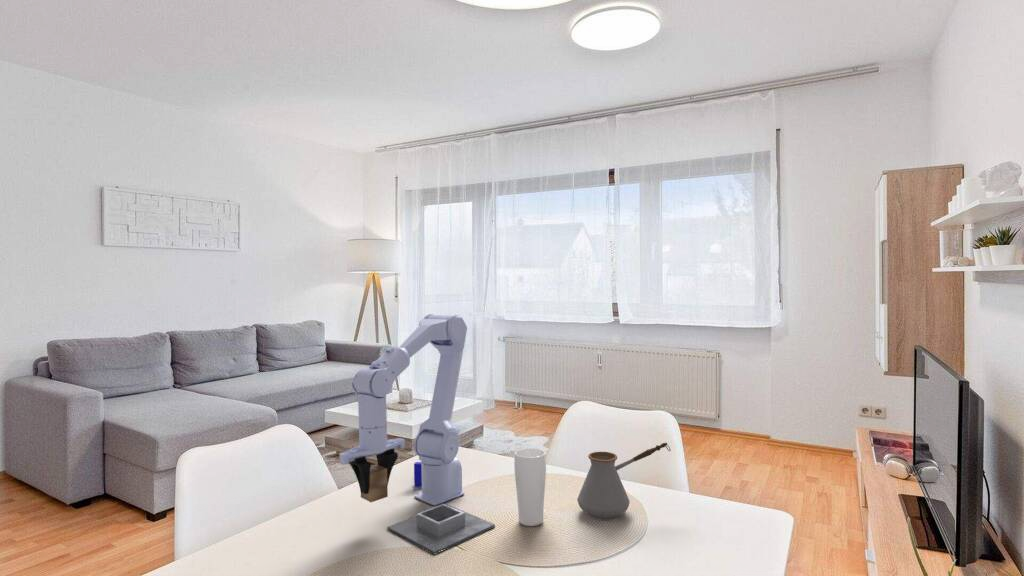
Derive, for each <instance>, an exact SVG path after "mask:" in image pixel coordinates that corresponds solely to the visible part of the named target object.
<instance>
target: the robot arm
mask: <svg viewBox="0 0 1024 576" xmlns="http://www.w3.org/2000/svg"><path fill="white" fill-rule="evenodd" d="M467 332H468V327H467V323H466V322H465V320H464V318H463V317H462V316H461V315H460V314H454V315H451V314H450V315H449V314H433V313H430V314H426V315H425V316H424V317H423V318H422V319H421V320H419V321H418V327H417V328H416V329H415V330H413V332H412V333H411V334H410V335H409V336H408V337H407V338H406V339H405V340H404V342H403V343H401V345H399V346H395V345H394V346H391V347H389V346H388V347H387V348H386V349H384V351H385V352H384V353H383V354H382V355H381V356H380V357H379V358H377V359H376V360H373V361H372V362H371V364H370V365H369V366H368V367H364V368H361V369H359V370H358V371H357V372H356V373H355V375H354V377H353V380H352V382H351V383H350V384H351V389H352V391H353V393H355V396H356V398H355V399H356V401H357V404H358V405H357V407H358V408H357V409H358V446H356V447H353V448H350V449H349V450H346V451H344V452H339V463H340V464H342V465H348V464H349V465H350V467H351V468H352V471H353V473H354V475H355V477H356V480H357V483H358V486H359V489H360V493H361V492H362V493H364V494H368V492H369V473H370V467H371V466H372V463H371V462H369V461H368V459H366V458H369V457H373V456H375V457H376V460H377V465H380V466H382V467H384V468H387V487H388V485H389V481H390V477H391V473H392V470H393V468H394V465H395V463H396V461H397V460H398V458H399V455H398V454H399V453H398V452H396V450H399V449H400V450H402V449H405V448H406V446H405V445H406V440H405V439H404V438H401V437H397V438H392V439H388V428H387V427H388V426H387V395H389V393H390V392H391V391H392V387H393V384H394V383H395V380H396V379H397V378H398V377H399V376H400V375H401V374H402V373H404V371H405V370H406V369H407V368H408V367H409V366H410V364H411V358H412V357H413V356H414V355H416V354H417V353H418V352H419V351H420V350H421V349H423V348H424V347H426V346H427V345H428V344H429V343H430V344H431V346H433V348H435V349H436V350H437V351H438V353H439V354H440V355H439V361H438V366H437V367H438V368H437V373H436V379H435V384H434V389H433V396H432V398H431V399H432V400H431V406H430V411H429V415H428V416H429V417H428V418H427V419H426V420H424V421H423V422H422V423H421V424H420V425H419V429H418V431H417V435H416V436H415V438H414V443H413V450H414V452H415V454H416V455H417V456H418V461H419V462H421V467H422V487H421V492H419V493H416V494H414V498H415V499H418V500H420V501H422V502H425V503H427V504H428V505H431V506H438V505H441V504H444V503H446V502H448V501H450V500H453V499H456V498H458V497H461V496H463V495H465V491H463V468H462V465H461V464H462V463H461V461H460V460H459V458H458V457H457V455H458V452H459V447H460V446H459V432H460V431H459V430H458V428H457V427H456V426H455V424H454V423H453V422H452V418H453V412H454V406H455V401H456V400H455V399H456V395H457V389H458V382H459V376H460V371H461V367H462V366H461V365H462V359H463V353H464V348H465V343H466V337H467ZM435 431H436V432H435Z"/></svg>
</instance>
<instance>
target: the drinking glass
mask: <svg viewBox="0 0 1024 576" xmlns="http://www.w3.org/2000/svg"><path fill="white" fill-rule="evenodd" d="M546 476H547V457H546V451H544V450H543V449H540V448H536V447H534V448H533V447H531V448H528V447H527V448H520V449H517V450H516V451H515V452H514V478H515V480H514V481H515V489H516V499H517V510H518V511H517V512H518V521H519V523H520V524H521V525H522V526H526V527H536V526H540V525H541V524H543V522H544V509H545V508H544V507H545V506H544V505H545V492H546V478H547V477H546Z"/></svg>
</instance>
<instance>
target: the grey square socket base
mask: <svg viewBox="0 0 1024 576" xmlns="http://www.w3.org/2000/svg"><path fill="white" fill-rule="evenodd" d="M495 525H496V524H495V523H492V522H490V521H488V520H485V519H483V518H481V517H478V516H476V515H473V514H471V513H469V512H466V511H465V510H463V509H460V508H457V507H456V506H453V505H449V504H448V503H446V504H445V503H440V504H438V505H435V506H434V507H431V508H428V509H426V510H423V511H421V512H418V513H416V515H414V516H412V517H409V518H406V519H404V520H401V521H399V522H395V523H394V524H391V525H388V526H387V527H386V529H387V531H389V532H391V533H393V534H395V535H397V536H399V537H400V538H402V539H404V540H406V541H407V542H409V543H411V544H414V545H415V546H417V547H419V548H420V549H423V548H424V549H423V550H425V549H426V550H428V551H430V552H432V553H434V554H435V553H438V552H439V551H441V550H444V549H446V550H448V549H447V548H449V549H451V548H453V547H456V546H457V545H459V544H462V543H464V542H466V541H468V540H471V539H472V538H475V537H477V536H479V535H480V534H481V535H482V533H486V532H487V531H490V530H491V529H494V528H495V527H496V526H495ZM426 550H425V551H426ZM428 551H427V552H428ZM444 551H445V550H444ZM430 552H429V553H430ZM432 553H431V554H432ZM434 554H433V555H434ZM438 554H439V553H438Z"/></svg>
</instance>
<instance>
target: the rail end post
mask: <svg viewBox="0 0 1024 576" xmlns="http://www.w3.org/2000/svg"><path fill="white" fill-rule="evenodd" d="M388 490H389V488H388V486H387V468H384V467H382V466H380V465H378V463H376V464H373V465H371V467H370V473H369V492H368V494H364V493H362V492H361V491H360V498H362V499H363V500H365V501H367V502H369V503H375V502H376V501H379V500H383V499H385V498H388V493H389V492H388Z"/></svg>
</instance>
